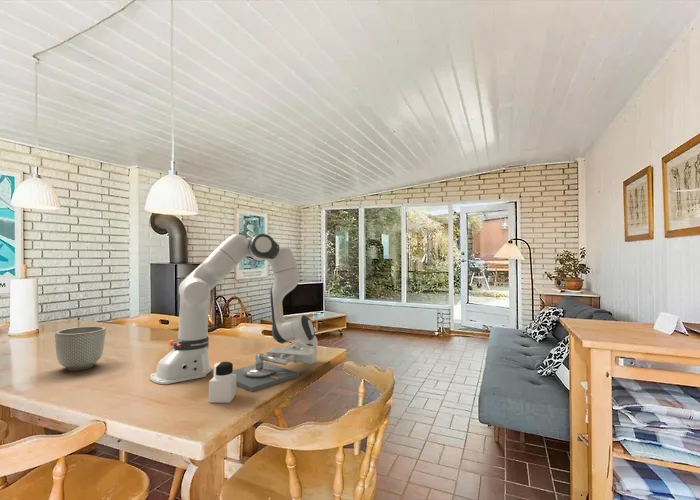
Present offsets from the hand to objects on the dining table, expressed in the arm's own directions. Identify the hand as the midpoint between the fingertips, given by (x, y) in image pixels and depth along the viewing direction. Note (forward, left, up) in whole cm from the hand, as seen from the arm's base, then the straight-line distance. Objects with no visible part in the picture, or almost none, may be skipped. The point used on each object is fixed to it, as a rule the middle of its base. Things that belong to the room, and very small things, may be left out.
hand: (283, 360), depth 139 cm
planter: (-47, +76, -8) cm, 90 cm away
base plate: (-3, +11, -8) cm, 14 cm away
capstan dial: (-3, +7, -6) cm, 9 cm away
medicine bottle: (-24, +2, -8) cm, 25 cm away
